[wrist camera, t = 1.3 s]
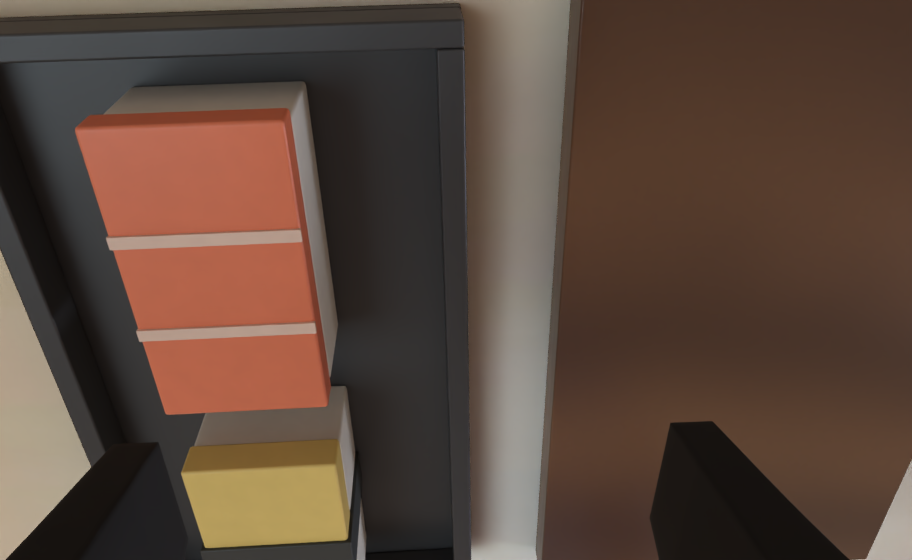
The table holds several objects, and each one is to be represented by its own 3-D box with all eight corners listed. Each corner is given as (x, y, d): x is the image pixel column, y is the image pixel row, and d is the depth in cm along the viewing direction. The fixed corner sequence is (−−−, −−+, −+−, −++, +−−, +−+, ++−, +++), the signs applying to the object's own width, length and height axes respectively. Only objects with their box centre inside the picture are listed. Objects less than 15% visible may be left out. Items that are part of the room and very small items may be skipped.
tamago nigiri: (370, 539, 25) (364, 633, 22) (250, 546, 25) (229, 641, 22) (349, 378, 21) (339, 467, 18) (207, 386, 21) (174, 476, 18)
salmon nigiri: (339, 330, 20) (328, 410, 18) (197, 337, 20) (164, 418, 18) (304, 71, 16) (283, 121, 14) (127, 77, 16) (70, 129, 14)
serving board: (849, 532, 27) (866, 559, 26) (535, 550, 27) (540, 579, 26) (1090, -37, 16) (1135, -28, 15) (571, -21, 16) (582, -10, 15)
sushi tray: (468, 547, 27) (471, 586, 25) (162, 565, 26) (148, 605, 25) (459, 2, 16) (464, 19, 15) (-48, 18, 16) (-90, 37, 14)
